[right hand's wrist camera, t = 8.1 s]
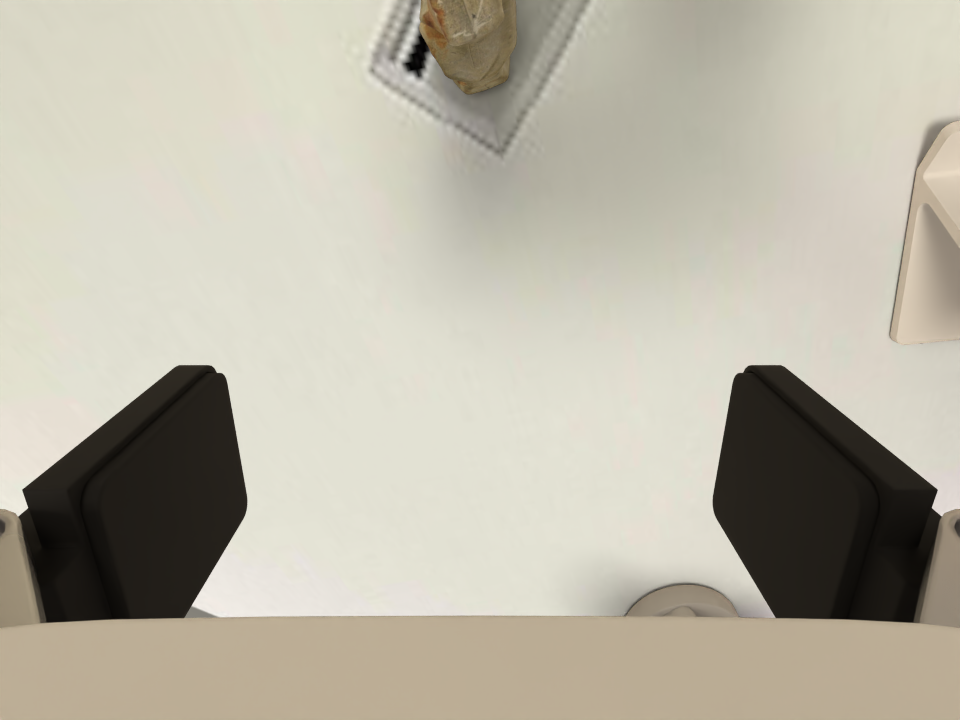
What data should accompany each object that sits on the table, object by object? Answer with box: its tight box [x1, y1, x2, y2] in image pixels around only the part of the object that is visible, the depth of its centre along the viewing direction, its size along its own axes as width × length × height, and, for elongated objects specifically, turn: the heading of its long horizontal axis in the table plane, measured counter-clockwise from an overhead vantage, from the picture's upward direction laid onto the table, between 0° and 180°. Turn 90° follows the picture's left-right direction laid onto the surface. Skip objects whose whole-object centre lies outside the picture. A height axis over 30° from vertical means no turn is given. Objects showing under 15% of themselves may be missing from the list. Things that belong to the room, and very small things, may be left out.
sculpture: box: [419, 0, 517, 94], centre depth 36 cm, size 6×7×15 cm
